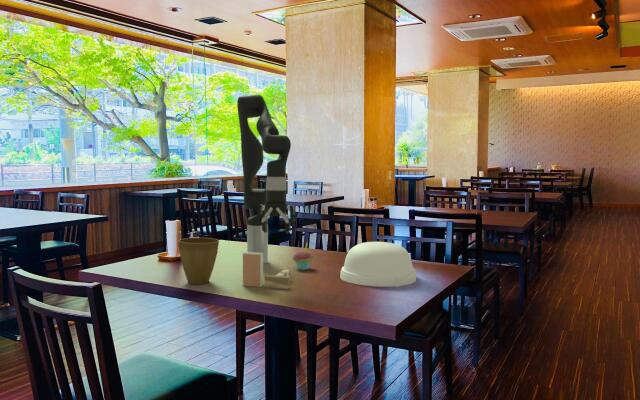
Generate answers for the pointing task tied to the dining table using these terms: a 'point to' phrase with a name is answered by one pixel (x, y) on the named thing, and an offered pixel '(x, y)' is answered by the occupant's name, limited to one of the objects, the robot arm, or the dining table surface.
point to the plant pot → (198, 258)
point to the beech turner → (278, 280)
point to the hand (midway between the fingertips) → (276, 232)
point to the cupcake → (303, 259)
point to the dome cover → (378, 265)
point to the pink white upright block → (252, 269)
